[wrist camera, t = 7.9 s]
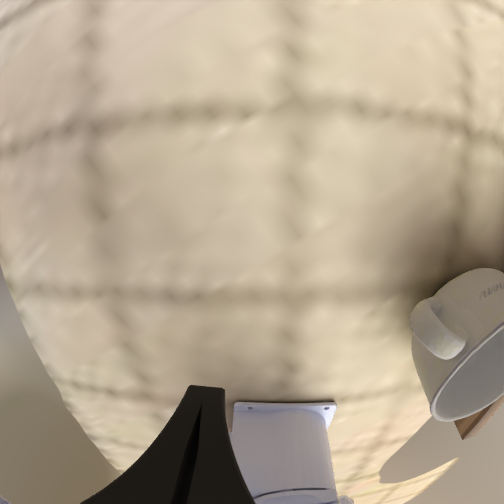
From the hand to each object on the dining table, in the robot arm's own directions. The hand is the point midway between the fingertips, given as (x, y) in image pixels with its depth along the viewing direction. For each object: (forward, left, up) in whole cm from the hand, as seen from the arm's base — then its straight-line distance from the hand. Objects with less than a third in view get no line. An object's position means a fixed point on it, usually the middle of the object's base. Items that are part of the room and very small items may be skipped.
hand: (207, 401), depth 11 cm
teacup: (+17, -1, -10) cm, 19 cm away
